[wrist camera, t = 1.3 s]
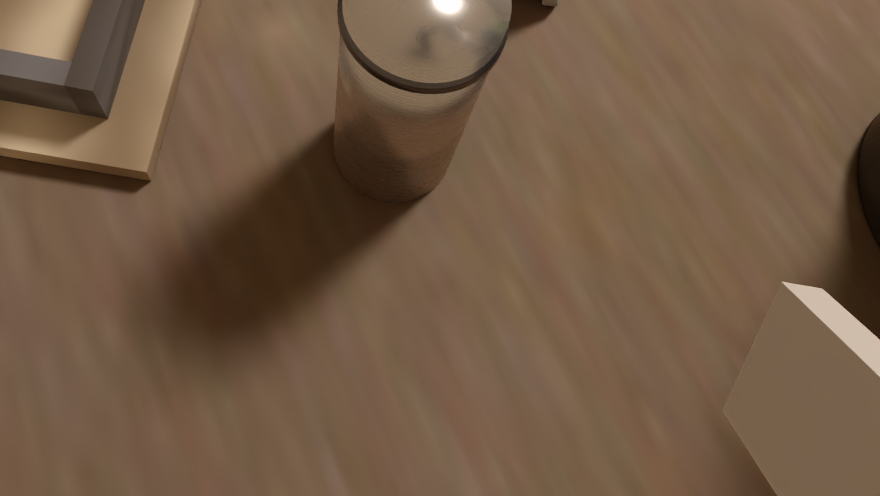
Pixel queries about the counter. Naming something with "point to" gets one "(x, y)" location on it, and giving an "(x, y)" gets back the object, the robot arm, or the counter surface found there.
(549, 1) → the electrical switch
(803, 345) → the robot arm
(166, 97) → the collar plate
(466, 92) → the steel piston
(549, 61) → the counter surface
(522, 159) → the counter surface
